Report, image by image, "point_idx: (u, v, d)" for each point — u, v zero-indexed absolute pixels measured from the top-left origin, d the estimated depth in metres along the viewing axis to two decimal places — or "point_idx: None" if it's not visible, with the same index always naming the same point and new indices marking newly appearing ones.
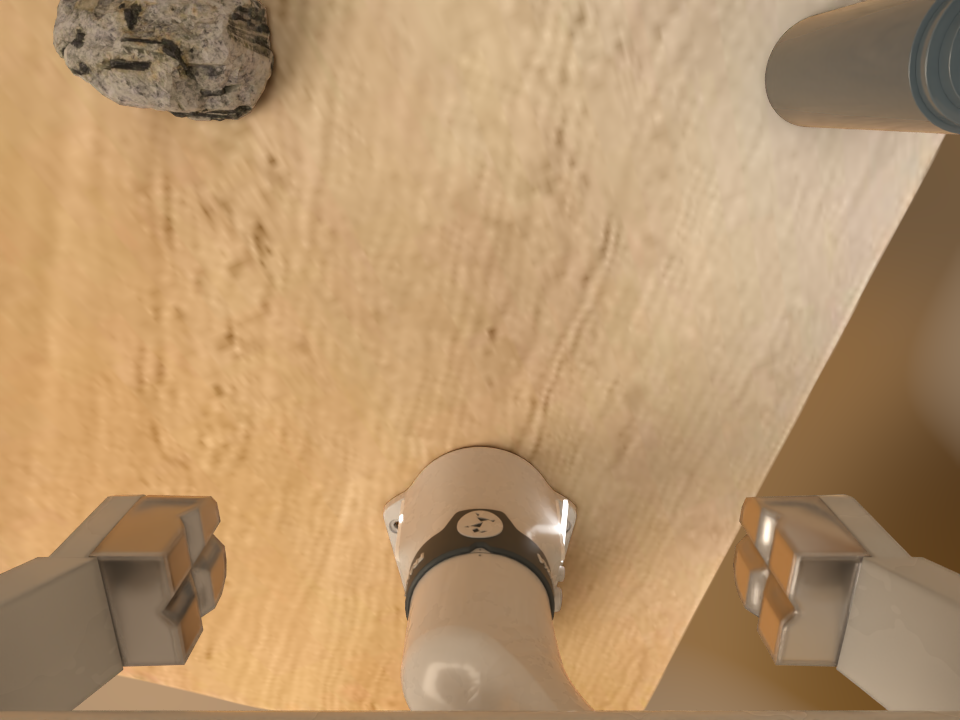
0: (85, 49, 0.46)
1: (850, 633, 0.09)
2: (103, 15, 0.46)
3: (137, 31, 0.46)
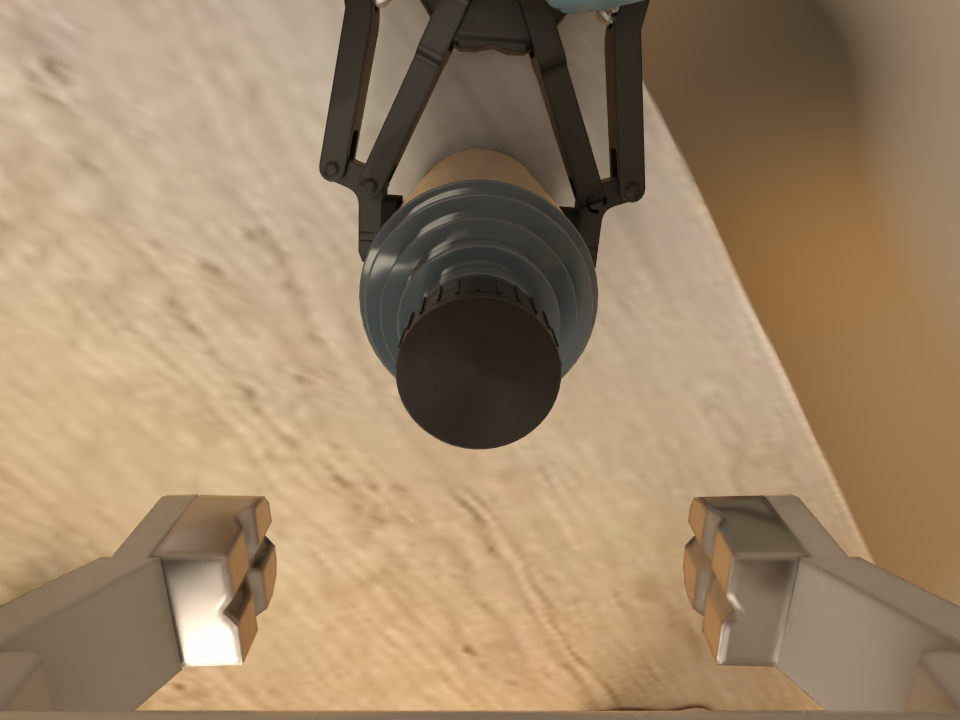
0: None
1: (791, 633, 0.09)
2: None
3: None
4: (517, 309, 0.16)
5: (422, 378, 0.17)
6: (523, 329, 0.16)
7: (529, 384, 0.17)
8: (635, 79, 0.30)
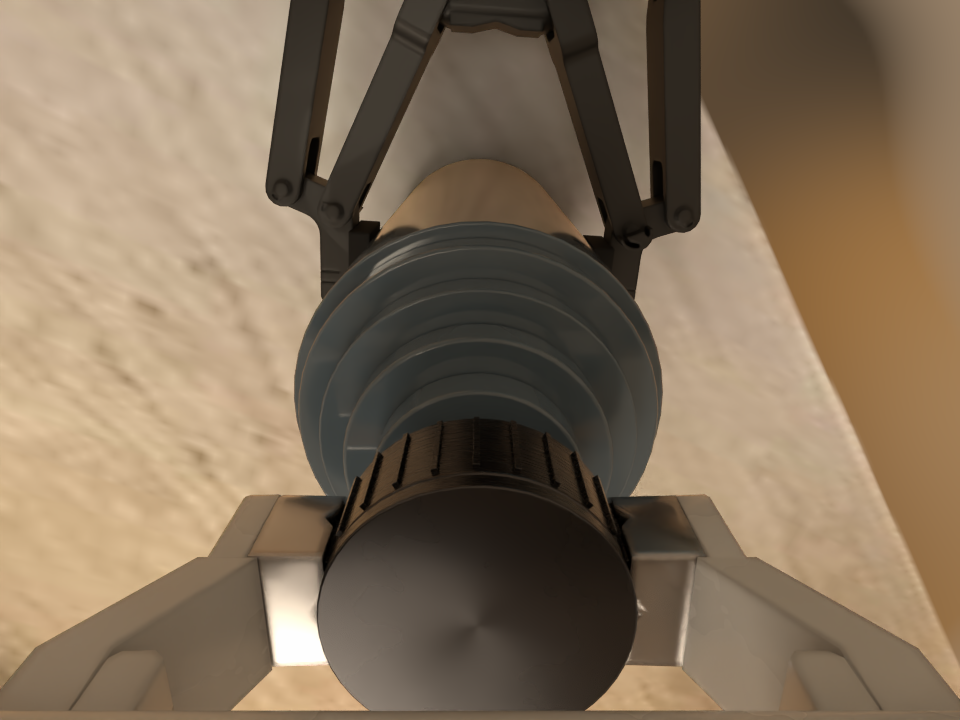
0: None
1: (695, 633, 0.09)
2: None
3: None
4: (555, 511, 0.08)
5: (368, 630, 0.09)
6: (566, 546, 0.08)
7: (575, 640, 0.09)
8: (691, 67, 0.22)
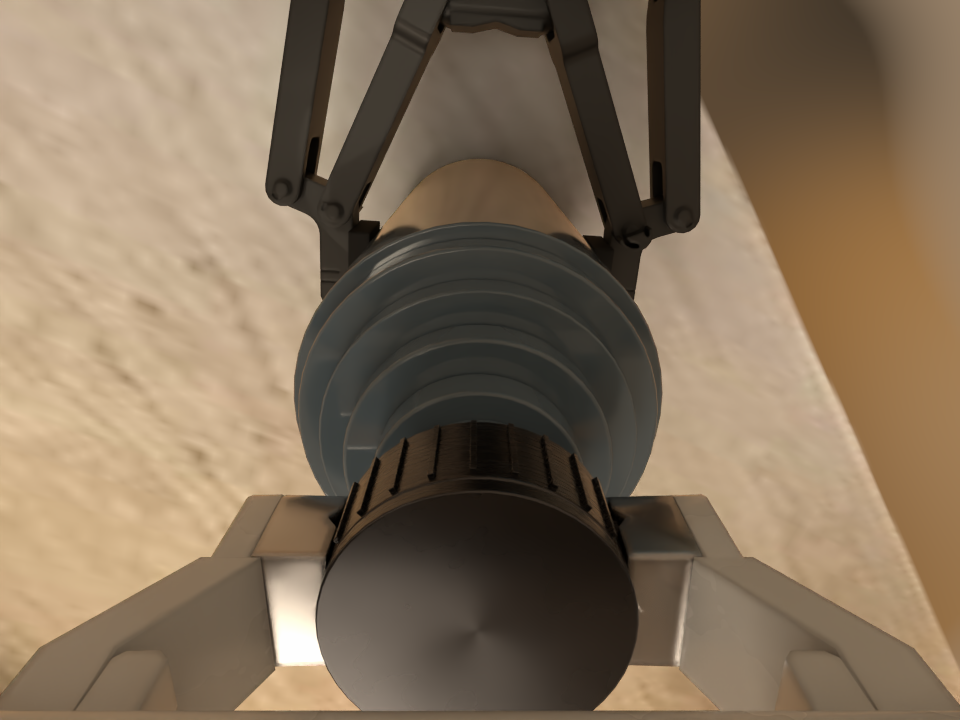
0: None
1: (691, 633, 0.09)
2: None
3: None
4: (362, 538, 0.08)
5: None
6: (405, 539, 0.08)
7: (525, 555, 0.08)
8: (692, 68, 0.22)
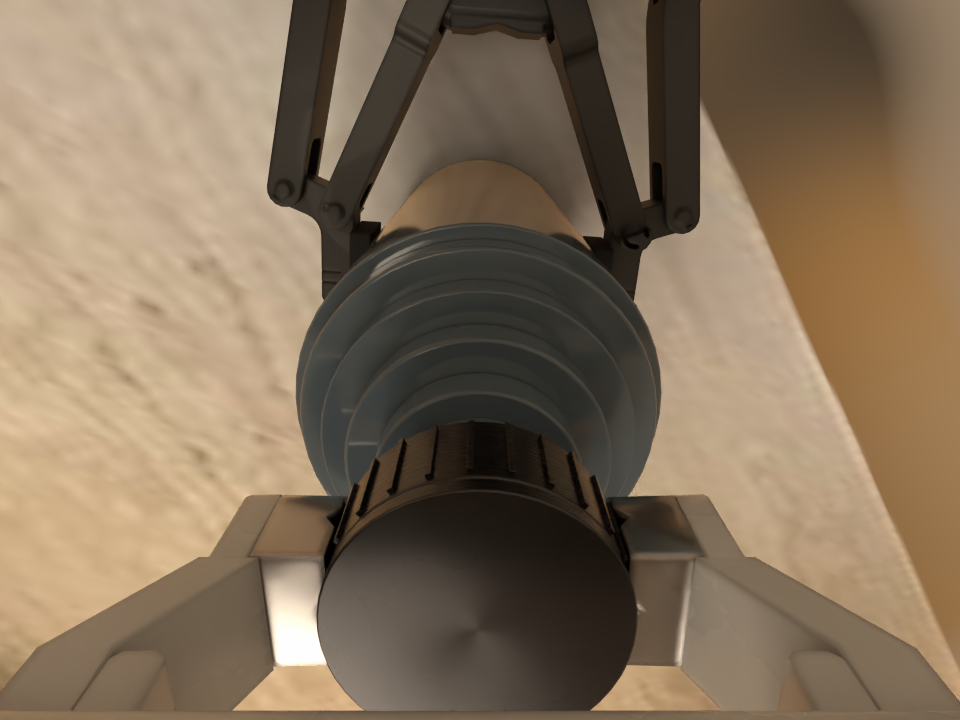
0: None
1: (692, 633, 0.09)
2: None
3: None
4: (346, 683, 0.09)
5: (567, 673, 0.09)
6: (355, 655, 0.09)
7: (401, 571, 0.08)
8: (691, 70, 0.22)
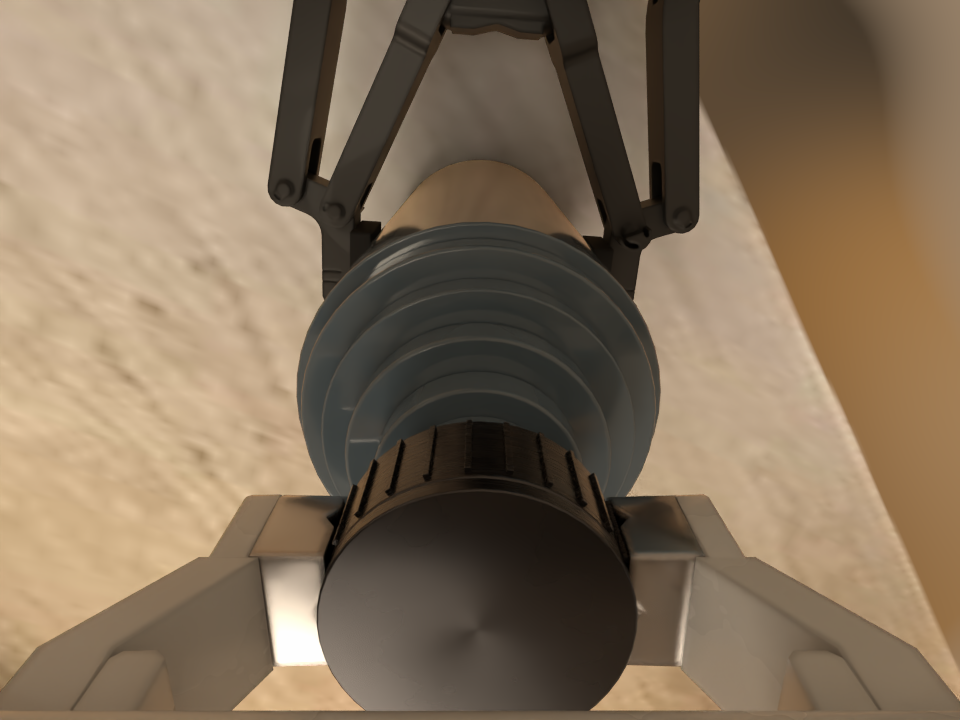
0: None
1: (693, 633, 0.09)
2: None
3: None
4: None
5: (561, 569, 0.08)
6: None
7: (391, 667, 0.09)
8: (690, 69, 0.23)
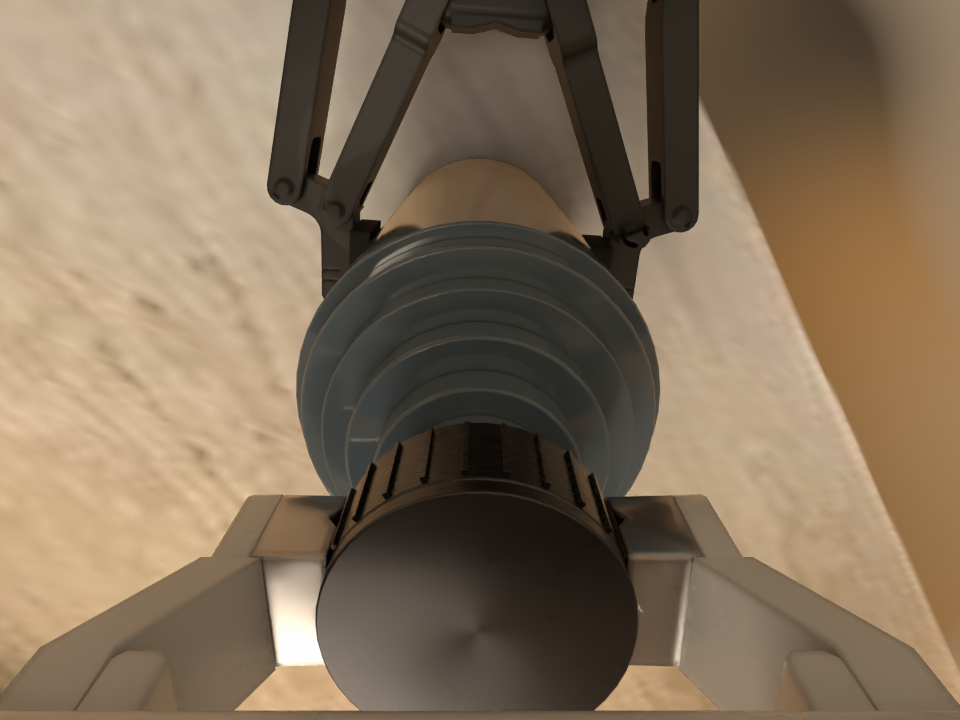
0: None
1: (691, 633, 0.09)
2: None
3: None
4: (627, 647, 0.09)
5: (428, 548, 0.08)
6: (595, 667, 0.09)
7: (497, 707, 0.09)
8: (690, 68, 0.23)
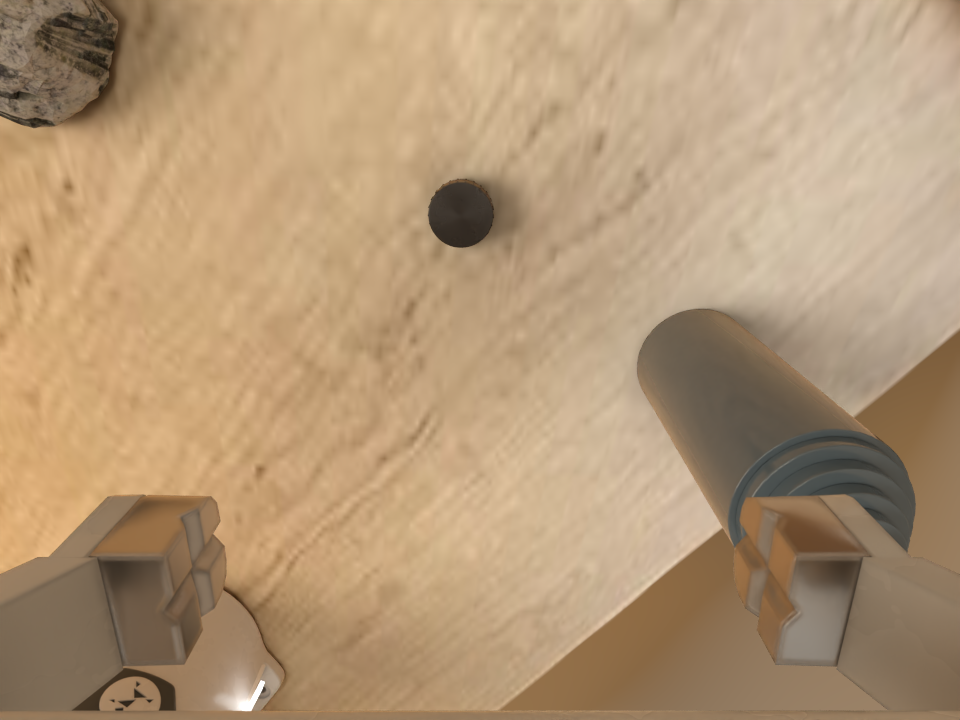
0: None
1: (850, 633, 0.09)
2: None
3: None
4: (472, 186, 0.42)
5: (439, 218, 0.42)
6: (475, 194, 0.42)
7: (480, 217, 0.42)
8: None
